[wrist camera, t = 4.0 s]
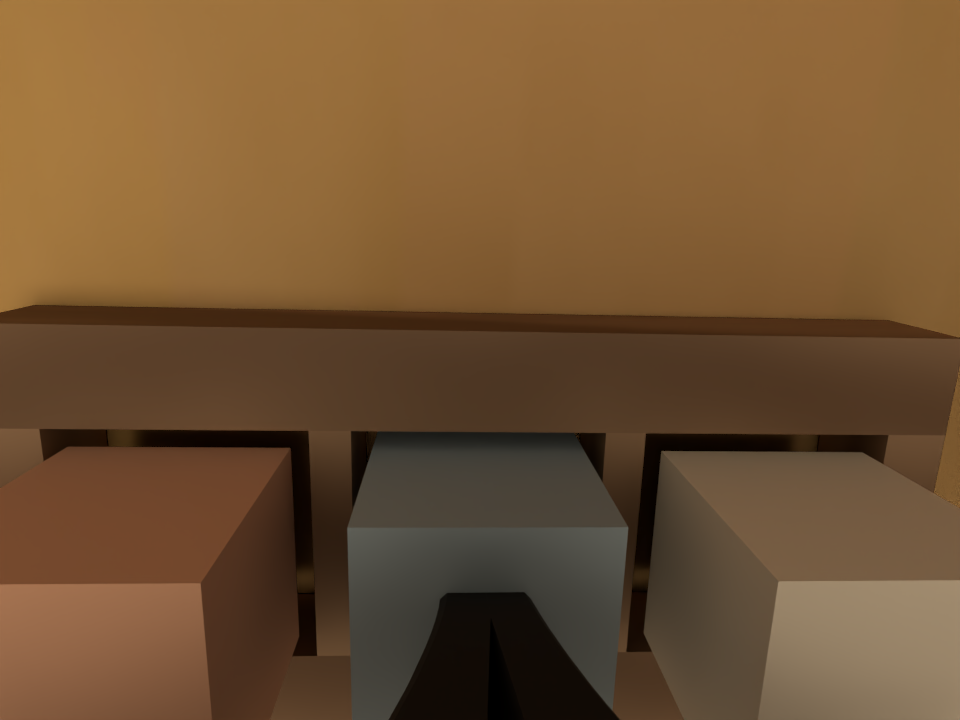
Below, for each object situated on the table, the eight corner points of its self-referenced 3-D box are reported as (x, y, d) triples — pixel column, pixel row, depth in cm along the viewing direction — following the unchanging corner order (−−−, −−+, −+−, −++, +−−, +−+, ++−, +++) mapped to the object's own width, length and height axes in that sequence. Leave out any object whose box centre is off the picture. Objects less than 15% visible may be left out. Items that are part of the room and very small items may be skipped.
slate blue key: (559, 594, 15) (608, 758, 10) (381, 595, 15) (353, 763, 10) (570, 426, 14) (628, 527, 9) (379, 424, 14) (347, 527, 9)
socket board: (829, 658, 16) (886, 724, 14) (83, 668, 15) (24, 741, 13) (888, 320, 14) (964, 339, 12) (33, 305, 13) (-46, 323, 11)
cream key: (830, 631, 14) (1015, 831, 9) (643, 633, 14) (739, 839, 9) (862, 452, 13) (1083, 580, 8) (661, 450, 13) (778, 580, 8)
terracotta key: (299, 636, 13) (222, 853, 9) (92, 638, 13) (-95, 863, 8) (290, 448, 12) (200, 582, 8) (68, 446, 12) (-158, 585, 8)
